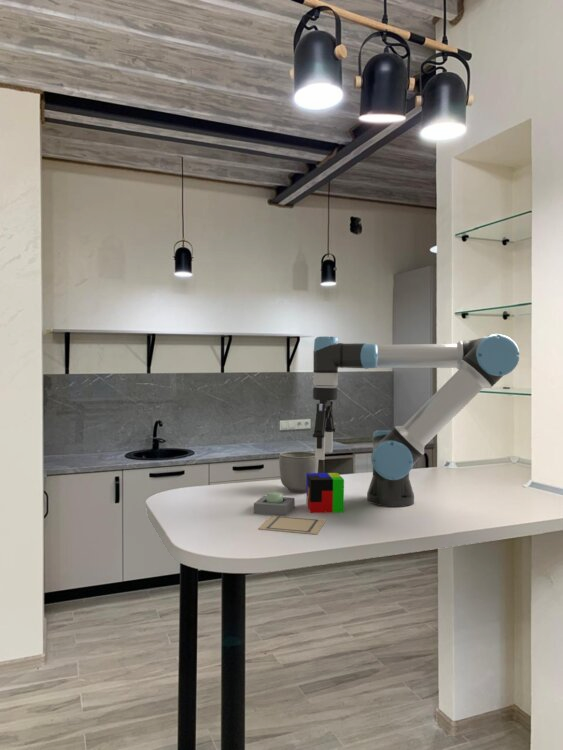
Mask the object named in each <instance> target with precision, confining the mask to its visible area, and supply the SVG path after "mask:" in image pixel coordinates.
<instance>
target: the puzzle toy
mask: <svg viewBox="0 0 563 750" xmlns="http://www.w3.org/2000/svg"><path fill="white" fill-rule="evenodd" d="M305 497H306V499H305V500H306V501H305V503H306V507H307V508H308V511H309V513H310V514H324V513H325V514H328V513H329V514H331V513H338V514H339V513H344V512H345V511H344V509H345V508H344V507H345V506H344V505H345V503H344V501H345V479H344V478H343V476H342V475H340V473H338V472H318V473H307V483H306V496H305Z"/></svg>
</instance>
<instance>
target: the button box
mask: <svg viewBox="0 0 563 750" xmlns="http://www.w3.org/2000/svg"><path fill="white" fill-rule="evenodd" d="M266 496H267V495H262V496H261V497H260V498H259V499H257V501H255V502H254V503H253V514H256V515H257V514H258V515H267V516H268V515H270V516H272V515H273V516H285V517H288V515H289V514H290V513H291V512H292V511H293V510H294V509H295V504H296V502H295V501H296V499H295V497H286V496H283V503H282V504H278V503H266Z"/></svg>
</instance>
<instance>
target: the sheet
mask: <svg viewBox="0 0 563 750" xmlns="http://www.w3.org/2000/svg"><path fill="white" fill-rule="evenodd" d="M326 522H327V519H320V518H319V519H318V518H306V517H294V516H278V515H270V517H269V518H268V519H266V520H265V521H264V522H263V523H262V524H261V525H260V526H259V527H258V528H257V529H258V530H260V529H262V530H261V531H271V530H274V531H273V532H283V533H292V534H293V533H295V534H305V535H319V532H320V531H321V529H322V527H323V526H324V524H326Z"/></svg>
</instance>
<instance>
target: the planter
mask: <svg viewBox="0 0 563 750" xmlns="http://www.w3.org/2000/svg"><path fill="white" fill-rule="evenodd" d="M319 461H320V460H319V459H315V451H313V452H312V451H306V450H305V451H304V450H303V451H302V450H293V451H292V450H291V451H290V450H289V451H283V452H280V453H279V454H278V463H279V464H278V467H279V476H280V482H281V484H282V486H284V487H285V488H286V489H287V490H288V491H289V493H293V494H304V493H306V483H307V473H319Z"/></svg>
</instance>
